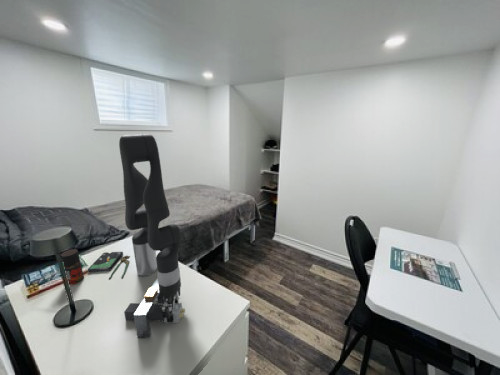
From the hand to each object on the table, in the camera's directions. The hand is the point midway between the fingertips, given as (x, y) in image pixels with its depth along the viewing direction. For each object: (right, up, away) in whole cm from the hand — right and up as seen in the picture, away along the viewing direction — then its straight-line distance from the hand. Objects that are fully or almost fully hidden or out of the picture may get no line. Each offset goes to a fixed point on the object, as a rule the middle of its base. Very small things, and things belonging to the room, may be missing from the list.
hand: (173, 314), depth 78 cm
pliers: (-37, +7, +29) cm, 47 cm away
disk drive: (-48, +7, +32) cm, 58 cm away
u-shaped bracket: (-7, -1, 0) cm, 7 cm away
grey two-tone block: (-7, -1, 0) cm, 7 cm away
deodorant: (-53, +5, +19) cm, 57 cm away
